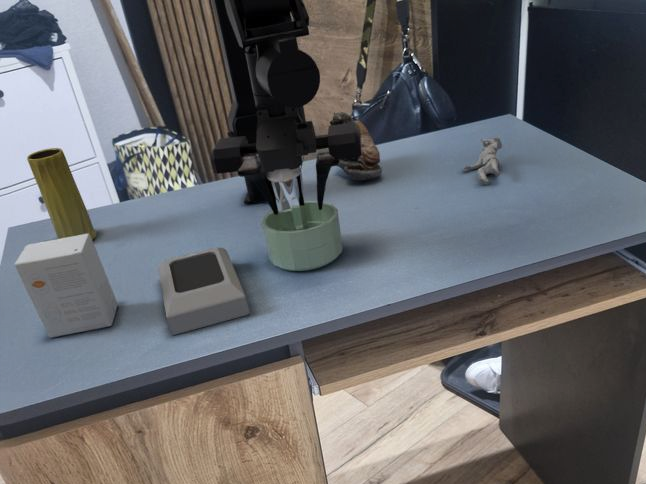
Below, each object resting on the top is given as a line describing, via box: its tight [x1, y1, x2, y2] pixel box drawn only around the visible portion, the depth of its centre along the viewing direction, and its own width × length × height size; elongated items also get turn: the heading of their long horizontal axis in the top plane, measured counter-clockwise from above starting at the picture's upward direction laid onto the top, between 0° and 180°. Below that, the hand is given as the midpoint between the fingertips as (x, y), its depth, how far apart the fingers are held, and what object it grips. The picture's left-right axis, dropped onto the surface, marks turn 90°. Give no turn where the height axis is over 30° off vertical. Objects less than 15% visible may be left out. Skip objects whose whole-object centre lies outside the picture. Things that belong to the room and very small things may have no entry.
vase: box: [26, 147, 98, 241], centre depth 101 cm, size 6×6×14 cm
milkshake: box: [267, 156, 308, 231], centre depth 84 cm, size 4×5×10 cm
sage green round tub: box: [261, 200, 343, 272], centre depth 88 cm, size 10×10×6 cm
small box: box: [13, 233, 119, 339], centre depth 79 cm, size 8×6×10 cm
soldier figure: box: [462, 136, 503, 186], centre depth 106 cm, size 8×5×12 cm
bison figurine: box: [329, 111, 383, 182], centre depth 111 cm, size 12×7×10 cm, turn 28°
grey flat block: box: [157, 247, 251, 336], centre depth 82 cm, size 10×4×15 cm
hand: (298, 211), depth 86 cm, fingers closed on milkshake, 6 cm apart
